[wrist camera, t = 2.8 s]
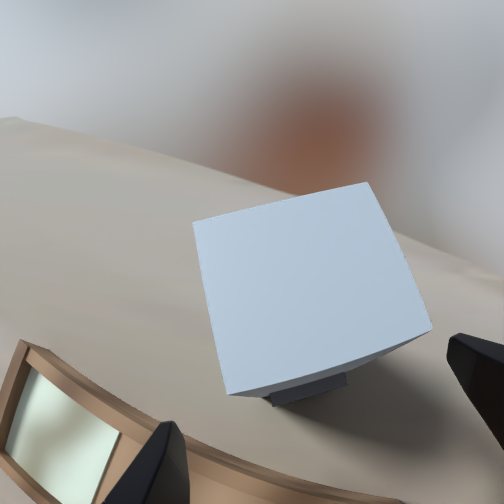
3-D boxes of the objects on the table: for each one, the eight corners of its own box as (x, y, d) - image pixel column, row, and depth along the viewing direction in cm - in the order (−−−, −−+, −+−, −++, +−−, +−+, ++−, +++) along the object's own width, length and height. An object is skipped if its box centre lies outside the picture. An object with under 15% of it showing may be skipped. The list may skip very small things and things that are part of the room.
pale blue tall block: (336, 386, 17) (441, 354, 6) (263, 407, 17) (234, 423, 5) (315, 316, 19) (367, 182, 8) (245, 335, 19) (192, 222, 7)
